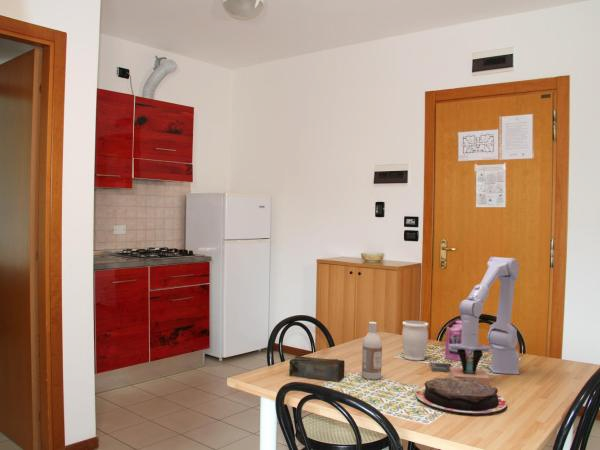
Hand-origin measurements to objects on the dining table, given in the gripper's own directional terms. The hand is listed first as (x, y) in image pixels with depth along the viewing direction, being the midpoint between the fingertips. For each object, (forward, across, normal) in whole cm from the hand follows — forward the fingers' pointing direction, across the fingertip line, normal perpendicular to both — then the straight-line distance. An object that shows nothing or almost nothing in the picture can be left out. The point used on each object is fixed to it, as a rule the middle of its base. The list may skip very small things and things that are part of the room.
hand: (469, 370), depth 188 cm
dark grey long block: (+4, -55, -6) cm, 55 cm away
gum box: (+4, +3, +39) cm, 39 cm away
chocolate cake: (+4, -7, -23) cm, 24 cm away
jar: (+4, -17, +27) cm, 32 cm away
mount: (+3, -8, +13) cm, 16 cm away
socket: (+3, 0, 0) cm, 3 cm away
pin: (+2, 0, 0) cm, 2 cm away
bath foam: (+4, -35, -4) cm, 35 cm away
